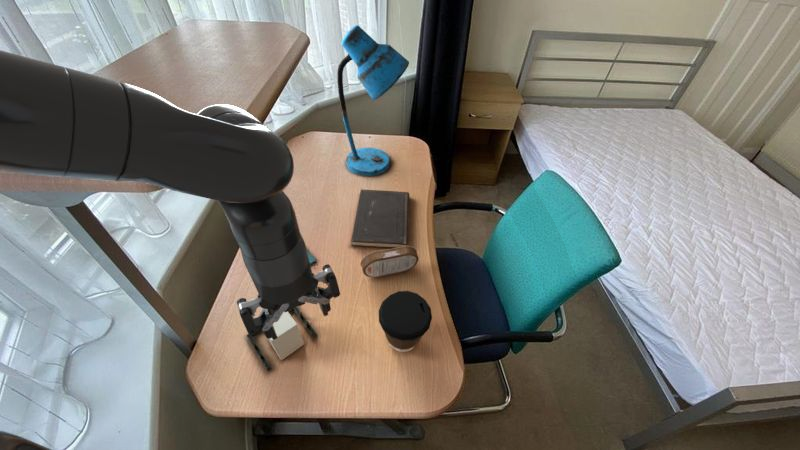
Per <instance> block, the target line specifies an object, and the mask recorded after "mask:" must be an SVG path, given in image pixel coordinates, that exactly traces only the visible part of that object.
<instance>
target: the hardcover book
mask: <svg viewBox="0 0 800 450" xmlns="http://www.w3.org/2000/svg"><path fill="white" fill-rule="evenodd" d="M409 213H410V192H409V191H397V190H396V191H395V190H381V189H380V190H378V189H363V188H362V189H360V192H359V196H358V201H357V207H356V212H355V218H354V223H353V229H352V233H351V238H350V242H351V246H350V247H358V248H377V249H392V248H398V247H403V246H409V216H410V215H409Z"/></svg>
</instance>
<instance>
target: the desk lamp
mask: <svg viewBox="0 0 800 450" xmlns="http://www.w3.org/2000/svg"><path fill="white" fill-rule="evenodd" d="M341 46H342V47H343V49H344V50H345V51H346V53H347V55H346V56H345V57H344V58H343V59H341V61H340V62H339V64H338V67H337V71H336V74H337V75H336V79H337V82H336V83H337V93H338V98H339V104H340V105H339V106H340V110H341V116H342V120H343V123H344V128H345V132H346V136H347V139H348V143H349V146H350V150H351V151H350V152H349V153H348V154H347V156H346V160H345V161H346V166H347V169H348V170H349V172H351V173H353V174H356V175H358V176H363V177H372V176H377V175H380V174H382V173H385V172H386V171H387V170H388V169H389V167H390V156H389V155H388V153H386V152H385V151H384V150H382V149H380V148H375V147H360V148H356V145H355V141H354V138H353V133H352V130H351V125H350V121H349V117H348V111H347V105H346V99H345V93H344V79H343V78H344V75H343V73H344V69H345V67H346V65H347V64H349V63H350V62H351V61H353V62H354V64H355V65H356V67H357V79H358V80H359V82H360V83H361V85H362V86H363V88H364V89H365V91H366V92H367V94H368V95H369V97H370V98H371V100H372V101H376V100H378V99H380V98H381V97H383V96H384V95H385V94H386V93H387V92H388V91H389V90H390V89H392V88H393V86H394V85H395V84H397V82H398V81H399V80H400V78H401V77H402V76H403V75H404V74H405V72H406V71H407V69H408V67H409V65H410V61H409V60H408V59H407V58H406V57H405V56H403V55H402V54H401V53H400V52H398V51H397V50H396V49H395V48H394V47H393V46H391V44H388V43H387V44H386V43H378V42H377V41H376V40H375V39H373V37H371V36H370V34H368V33H367V32H366V31H365V30H364V29H363V28H362V27H361V26H360V25H357V24H356V25H354V26H352V28H350V29H349V30H348V31H347V32H346V34H345V35H344V37H343V38H342V41H341Z"/></svg>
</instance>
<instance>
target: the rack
mask: <svg viewBox="0 0 800 450" xmlns="http://www.w3.org/2000/svg"><path fill="white" fill-rule="evenodd" d="M288 312H289V314H290V315H291V313H293V312H294V313H295V315H296V316H297V317H298V318H299V320H300V321H301V322H302V324H303V325H304V326H305V328H306V329H307V330H308V332H309V333H310V334H311V336H312V337H313V338H314V339H316V338H317V337H318V334H317V332H316V331H315V330H314V328H313V327H312V325H311V324H310V322H309V321H308V320H307V319H306V318H305V316H304V315H303V312H301V311H300V309H299V308H298V307H295V308H293V309H291V310H290V311H288ZM262 332H263V331H262V330H257V332H256V333H255V334H253V335H249V334H248V333H247V334H246V337H247V339H248V341H249V342H250V344H251V346H252V348H253V349H254V350H255V352H256V354H257V356H258V358H259V359H260V361H261V362H262V364H263V366H264V367H265V369H266V371H267V372H269V371H270V370H272V367H271V365H270V363H269V362H268V360H267V359H266V357H265V355H264V354H263V353H262V351H261V349H260V347H259V346H258V344H257V342H256V341H255V339H254V337H257V335H259V334H260V333H262Z"/></svg>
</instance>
